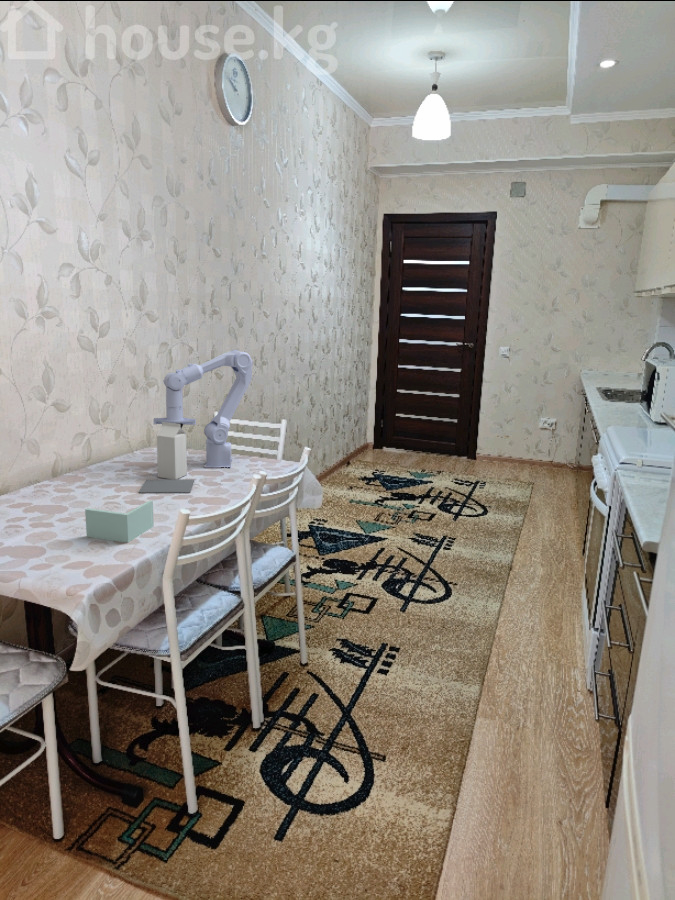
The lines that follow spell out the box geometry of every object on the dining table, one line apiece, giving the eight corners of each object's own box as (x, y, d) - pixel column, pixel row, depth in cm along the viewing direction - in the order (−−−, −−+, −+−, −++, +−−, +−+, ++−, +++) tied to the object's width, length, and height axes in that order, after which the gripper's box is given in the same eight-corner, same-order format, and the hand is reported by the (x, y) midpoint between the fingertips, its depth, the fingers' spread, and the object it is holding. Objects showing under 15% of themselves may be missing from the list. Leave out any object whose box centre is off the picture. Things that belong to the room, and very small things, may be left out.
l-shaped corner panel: (153, 527, 161) (152, 500, 159) (128, 543, 150) (127, 515, 148) (114, 521, 164) (113, 495, 162) (86, 537, 152) (85, 509, 150)
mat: (194, 480, 203) (194, 479, 203) (190, 493, 190) (190, 491, 190) (146, 480, 201) (146, 479, 201) (138, 493, 188) (138, 492, 187)
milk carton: (175, 480, 203) (174, 425, 198) (157, 477, 205) (156, 423, 200) (187, 475, 209) (186, 422, 205) (169, 472, 211) (168, 420, 207)
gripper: (196, 405, 215) (197, 441, 219) (155, 404, 213) (156, 441, 217) (194, 408, 209) (195, 446, 212) (152, 407, 207) (153, 445, 210)
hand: (175, 444), depth 214 cm, fingers closed
